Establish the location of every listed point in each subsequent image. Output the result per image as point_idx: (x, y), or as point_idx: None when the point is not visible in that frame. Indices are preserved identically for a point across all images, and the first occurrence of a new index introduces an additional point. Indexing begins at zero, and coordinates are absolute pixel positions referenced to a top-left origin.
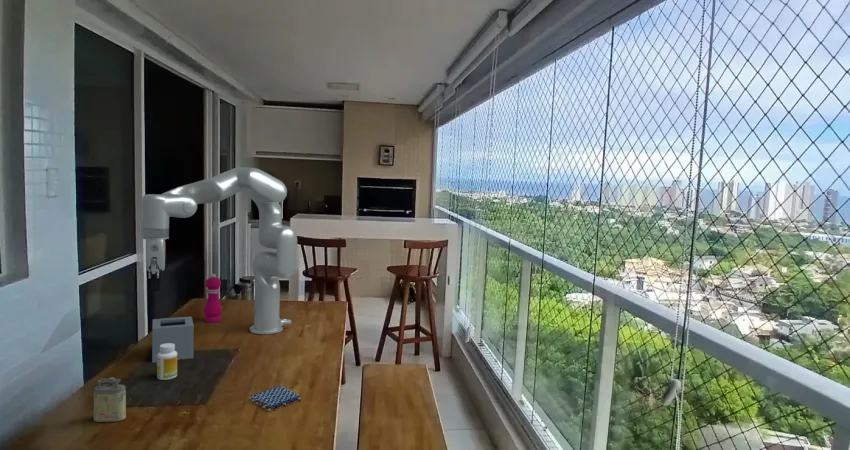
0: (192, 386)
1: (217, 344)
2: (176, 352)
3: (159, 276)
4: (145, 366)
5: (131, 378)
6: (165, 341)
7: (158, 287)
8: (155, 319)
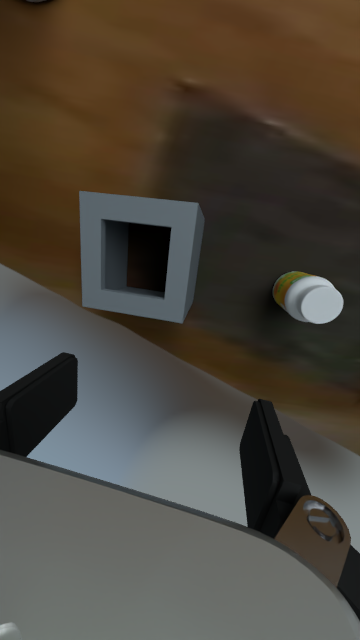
0: None
1: (126, 140)
2: (321, 279)
3: (34, 390)
4: (207, 315)
5: (260, 344)
6: (191, 284)
7: (274, 420)
8: (85, 299)
